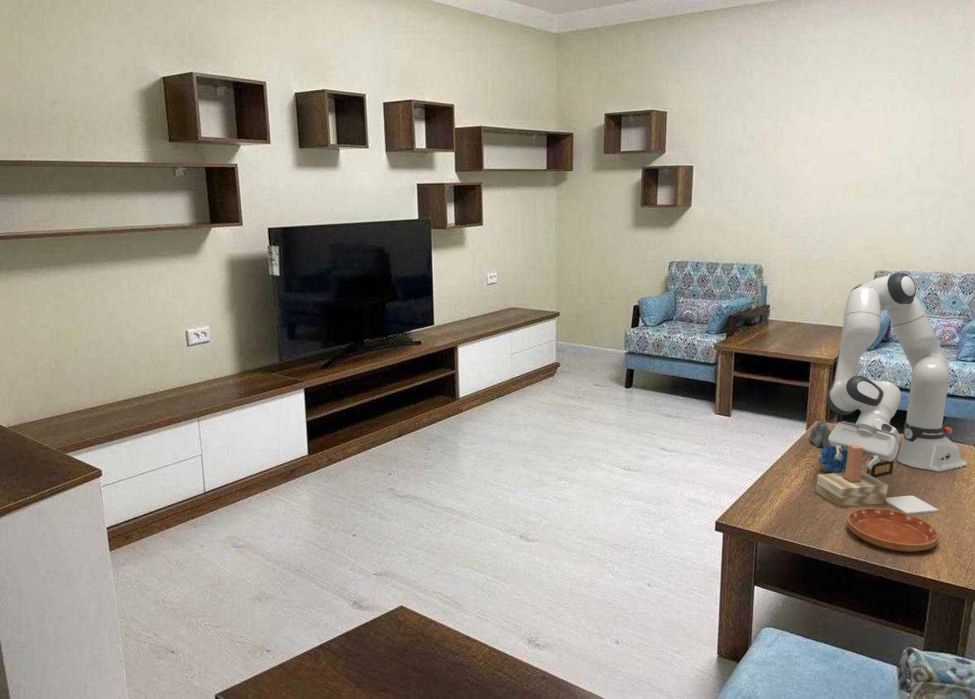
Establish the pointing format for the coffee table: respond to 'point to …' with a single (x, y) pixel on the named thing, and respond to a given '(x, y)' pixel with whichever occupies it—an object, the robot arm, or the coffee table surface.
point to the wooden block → (853, 463)
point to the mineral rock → (820, 434)
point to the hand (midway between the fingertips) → (852, 463)
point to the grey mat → (910, 505)
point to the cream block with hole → (851, 490)
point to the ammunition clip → (881, 468)
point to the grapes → (833, 459)
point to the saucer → (892, 529)
